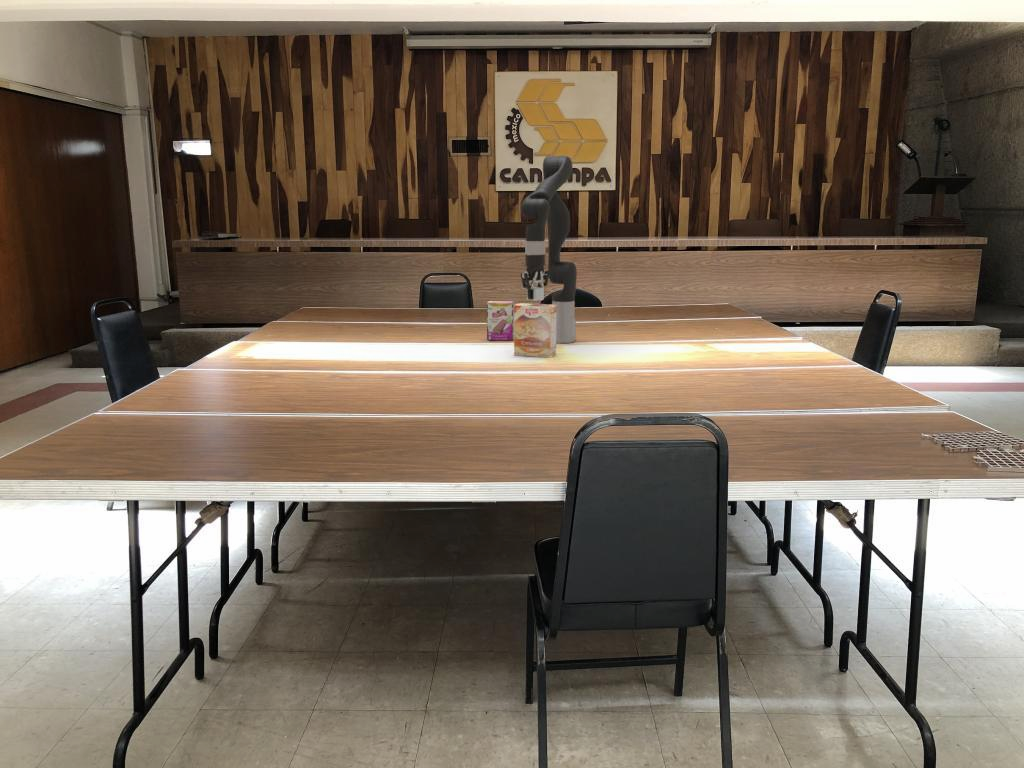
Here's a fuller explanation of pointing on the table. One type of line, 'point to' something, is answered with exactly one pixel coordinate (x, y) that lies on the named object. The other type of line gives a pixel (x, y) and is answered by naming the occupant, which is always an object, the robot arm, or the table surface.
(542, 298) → the blue-grey cube
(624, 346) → the table surface
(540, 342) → the coffeecake box
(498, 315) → the candy bar box
